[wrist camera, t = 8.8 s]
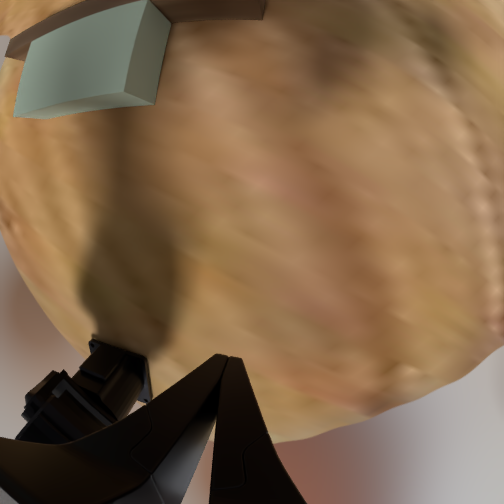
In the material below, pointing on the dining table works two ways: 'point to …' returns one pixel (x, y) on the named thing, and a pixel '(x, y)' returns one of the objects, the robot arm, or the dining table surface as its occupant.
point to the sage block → (95, 63)
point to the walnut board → (168, 3)
